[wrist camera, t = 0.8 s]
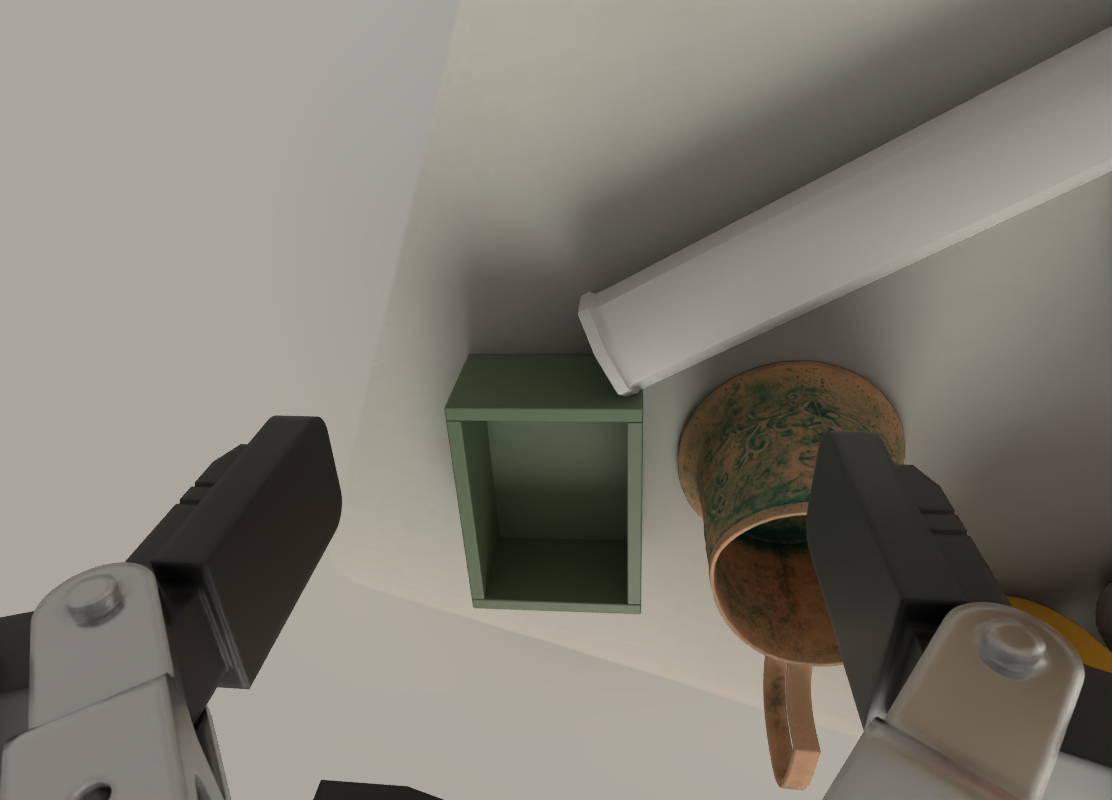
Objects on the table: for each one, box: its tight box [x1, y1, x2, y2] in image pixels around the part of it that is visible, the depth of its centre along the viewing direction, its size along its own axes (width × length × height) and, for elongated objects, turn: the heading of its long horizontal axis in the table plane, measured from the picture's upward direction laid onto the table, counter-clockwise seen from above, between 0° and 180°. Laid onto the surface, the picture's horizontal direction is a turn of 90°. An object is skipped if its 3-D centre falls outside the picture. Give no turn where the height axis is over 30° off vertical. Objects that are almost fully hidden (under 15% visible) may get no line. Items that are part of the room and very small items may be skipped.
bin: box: [445, 354, 643, 614], centre depth 38 cm, size 12×9×6 cm
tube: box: [578, 26, 1112, 397], centre depth 30 cm, size 5×5×25 cm
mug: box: [678, 361, 905, 790], centre depth 35 cm, size 12×18×12 cm, turn 179°
